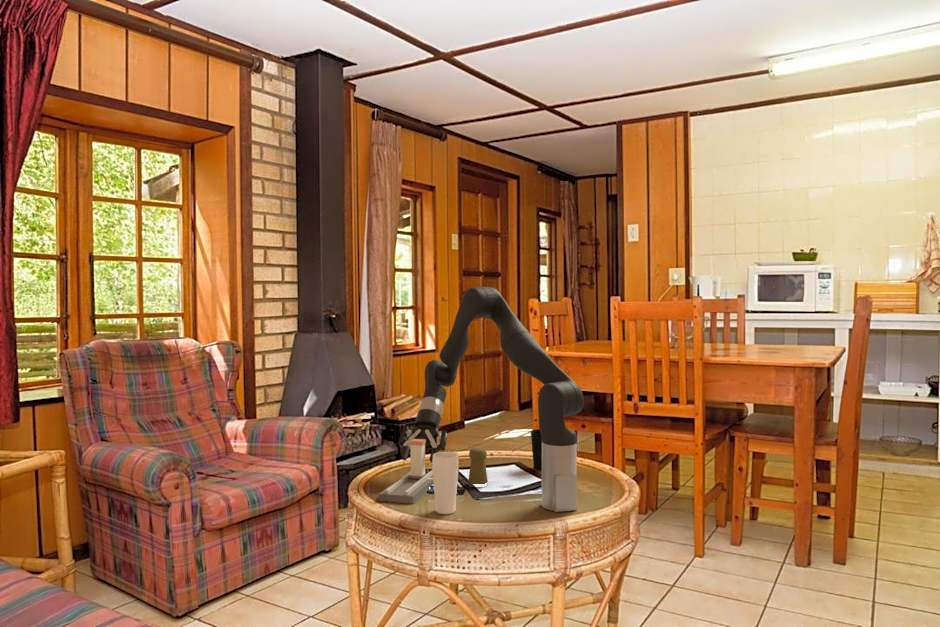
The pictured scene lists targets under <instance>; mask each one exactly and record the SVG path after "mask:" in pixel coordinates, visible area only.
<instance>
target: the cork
mask: <svg viewBox="0 0 940 627" xmlns="http://www.w3.org/2000/svg"><path fill="white" fill-rule="evenodd" d="M468 455H469V459H470V464H469V465H470V466H469V473H468V480H467V483H468V482H469V483H472V484H485V483H487V482H488V483H489V480H488V474H487V467H486V458H487V457H488V454H487V449H485V448H483V447H474V448H471V449H469V452H468Z"/></svg>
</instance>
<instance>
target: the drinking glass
mask: <svg viewBox="0 0 940 627" xmlns="http://www.w3.org/2000/svg"><path fill="white" fill-rule="evenodd" d="M431 471H433V483H434V486H433V492H434V510H435V512H436V513H437V514H439V515H452V514H454V513H455V512H456V509H457V506H456V505H457V490H458V480H459V454H458V453H456V452H451V451H438V453H435V454H433V460H432V468H431Z"/></svg>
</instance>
